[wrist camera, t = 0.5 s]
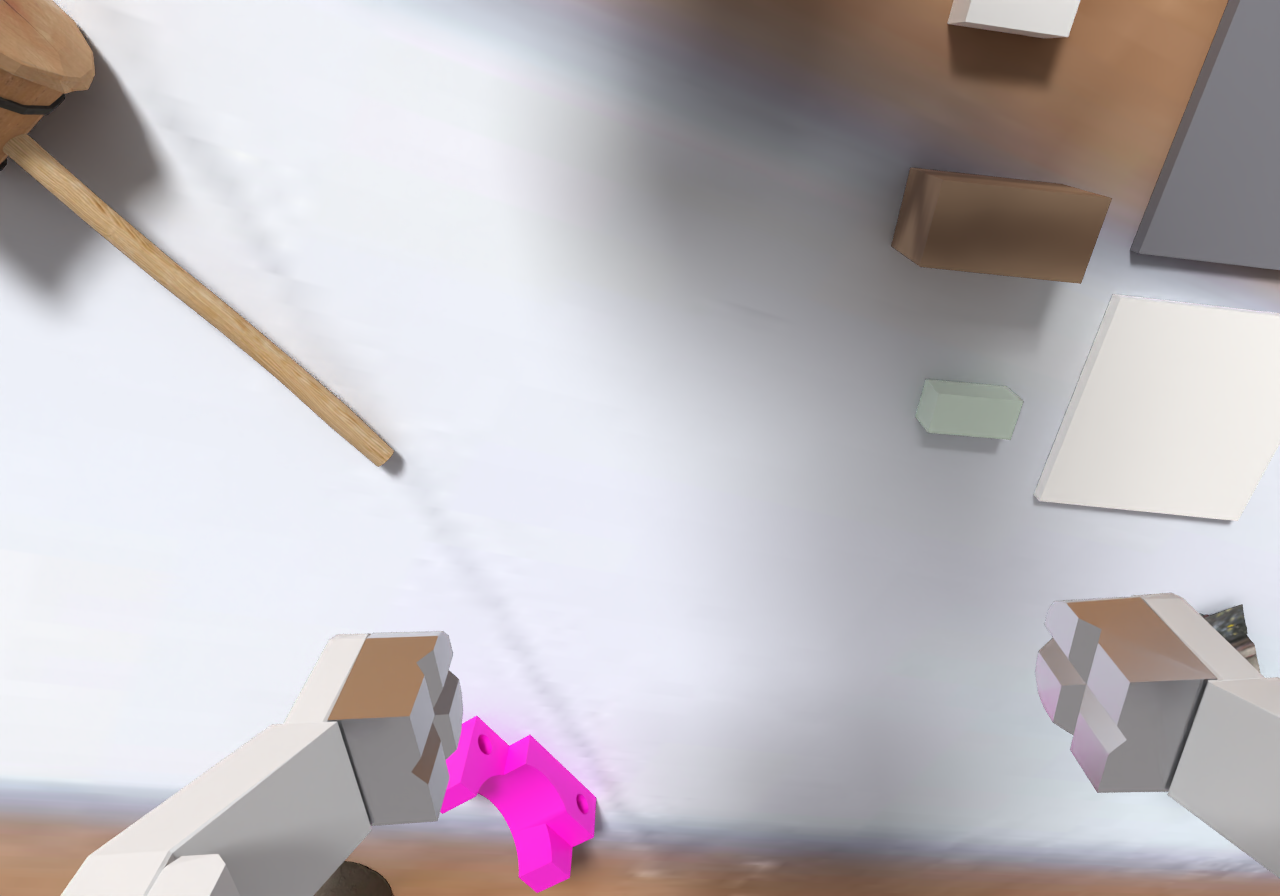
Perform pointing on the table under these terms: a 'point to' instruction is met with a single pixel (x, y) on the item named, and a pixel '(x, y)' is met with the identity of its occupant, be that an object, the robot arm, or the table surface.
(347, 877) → the pillar candle
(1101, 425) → the off-white mat
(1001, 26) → the pale grey brick
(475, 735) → the magenta cradle bracket
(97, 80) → the table surface
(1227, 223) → the charcoal mat
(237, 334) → the mallet
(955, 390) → the sage brick
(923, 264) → the walnut brick
